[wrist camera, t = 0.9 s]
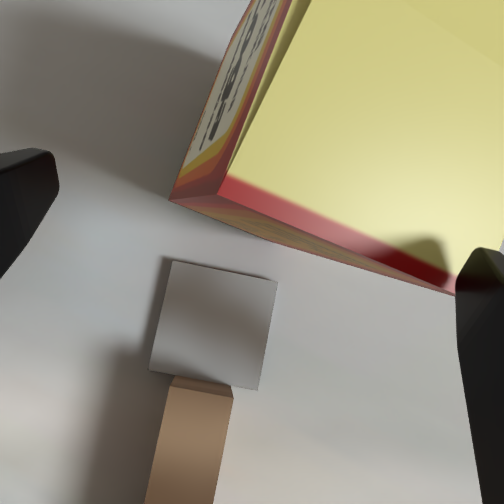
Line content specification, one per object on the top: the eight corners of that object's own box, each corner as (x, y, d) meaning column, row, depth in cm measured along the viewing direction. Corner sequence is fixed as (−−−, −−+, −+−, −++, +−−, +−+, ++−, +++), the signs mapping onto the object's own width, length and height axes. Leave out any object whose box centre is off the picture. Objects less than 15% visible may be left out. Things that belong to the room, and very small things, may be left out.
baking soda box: (231, 37, 23) (416, -311, 7) (332, 91, 25) (652, -97, 9) (168, 200, 23) (220, 193, 7) (273, 242, 25) (491, 307, 9)
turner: (219, 581, 22) (221, 641, 18) (105, 564, 22) (81, 621, 18) (275, 282, 24) (288, 278, 20) (173, 261, 24) (166, 252, 20)
